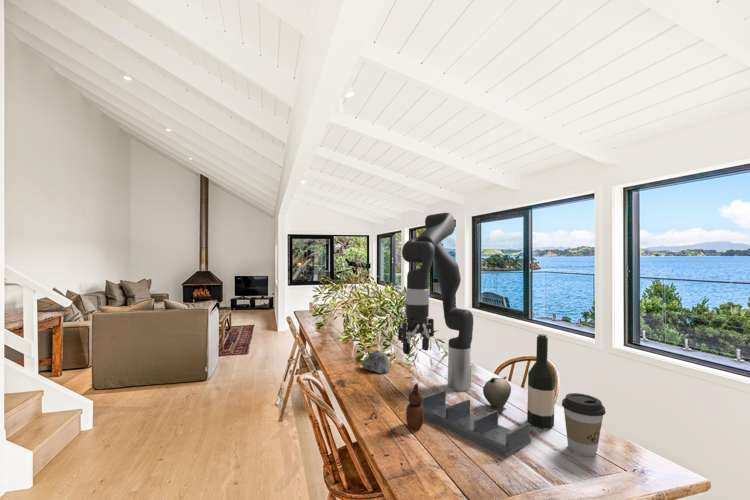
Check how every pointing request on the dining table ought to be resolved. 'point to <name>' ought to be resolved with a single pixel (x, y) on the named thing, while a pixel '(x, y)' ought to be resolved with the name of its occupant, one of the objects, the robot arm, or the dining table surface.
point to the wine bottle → (541, 389)
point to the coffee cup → (583, 422)
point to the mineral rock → (377, 362)
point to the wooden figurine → (415, 409)
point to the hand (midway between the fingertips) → (415, 352)
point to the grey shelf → (475, 425)
